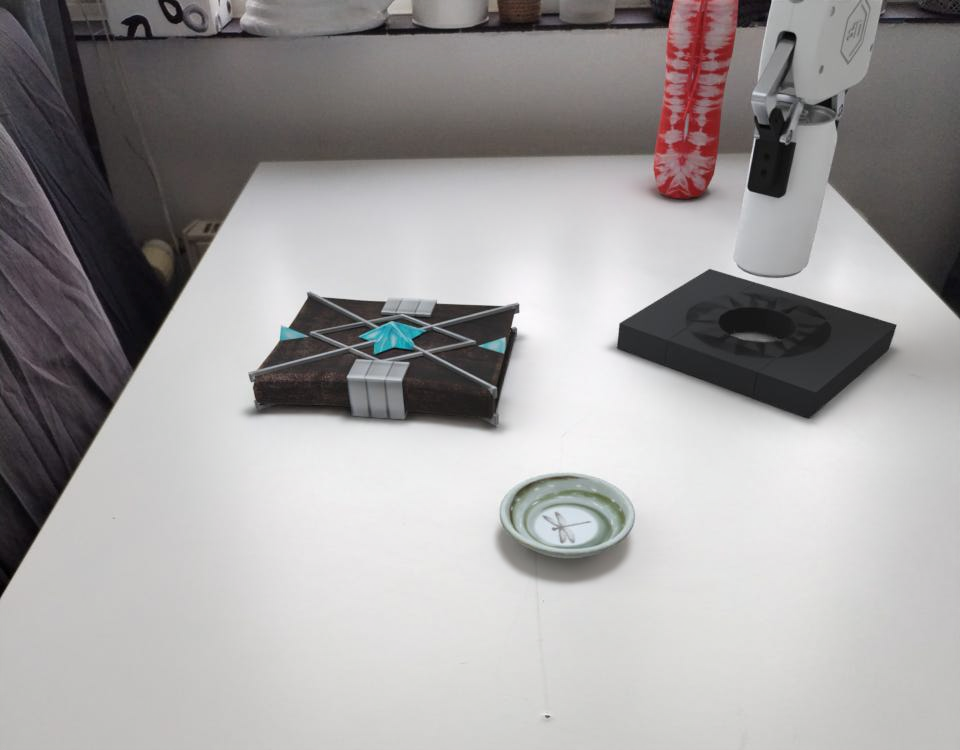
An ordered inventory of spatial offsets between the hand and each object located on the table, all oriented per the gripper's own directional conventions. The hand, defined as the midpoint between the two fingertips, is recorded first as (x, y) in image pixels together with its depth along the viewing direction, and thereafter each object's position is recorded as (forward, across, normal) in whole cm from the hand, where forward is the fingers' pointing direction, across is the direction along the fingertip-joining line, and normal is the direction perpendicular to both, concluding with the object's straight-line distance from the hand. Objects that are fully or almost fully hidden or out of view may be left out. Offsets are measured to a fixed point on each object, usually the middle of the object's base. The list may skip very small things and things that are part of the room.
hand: (787, 179), depth 74 cm
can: (+7, 0, 0) cm, 7 cm away
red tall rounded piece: (+15, +33, +29) cm, 47 cm away
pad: (+15, 0, 0) cm, 15 cm away
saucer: (+15, -34, -4) cm, 37 cm away
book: (+15, -25, +23) cm, 37 cm away
